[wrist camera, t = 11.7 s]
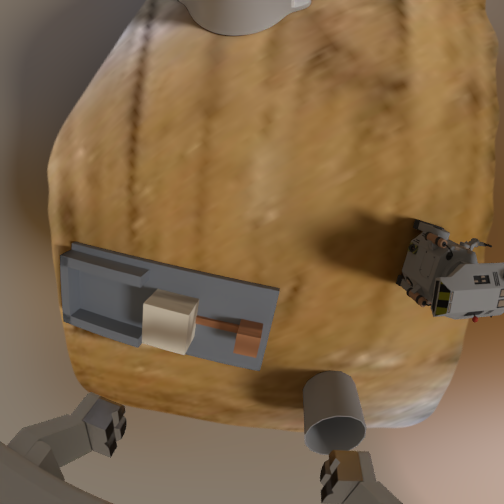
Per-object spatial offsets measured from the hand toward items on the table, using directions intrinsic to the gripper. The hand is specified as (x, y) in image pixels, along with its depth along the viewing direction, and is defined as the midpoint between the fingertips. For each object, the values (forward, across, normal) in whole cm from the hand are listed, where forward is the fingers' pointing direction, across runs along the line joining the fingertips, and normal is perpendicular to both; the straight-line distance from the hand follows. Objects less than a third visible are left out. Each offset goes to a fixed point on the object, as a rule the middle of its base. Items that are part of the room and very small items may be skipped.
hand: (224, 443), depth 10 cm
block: (+30, +6, +12) cm, 33 cm away
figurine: (+31, -22, -3) cm, 38 cm away
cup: (+31, -14, +21) cm, 40 cm away
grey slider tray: (+31, +13, +12) cm, 36 cm away
